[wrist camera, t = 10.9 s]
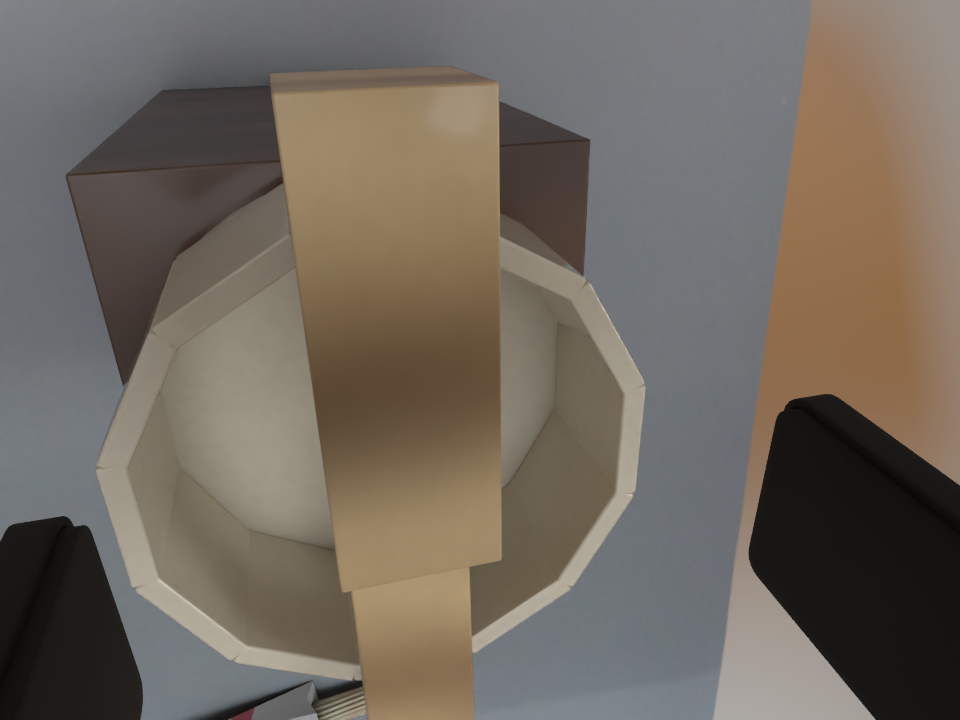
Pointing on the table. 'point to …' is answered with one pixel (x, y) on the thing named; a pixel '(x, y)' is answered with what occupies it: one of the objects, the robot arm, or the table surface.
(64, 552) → the robot arm
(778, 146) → the table surface
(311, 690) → the paintbrush
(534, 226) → the stand
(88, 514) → the table surface
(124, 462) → the bowl
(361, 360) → the tan block
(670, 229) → the table surface
